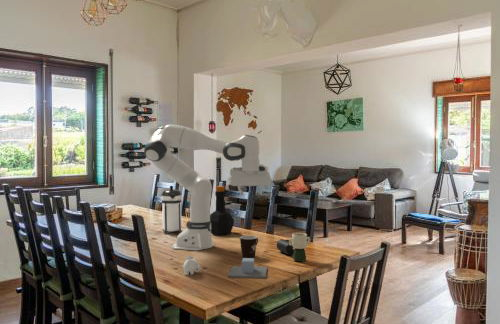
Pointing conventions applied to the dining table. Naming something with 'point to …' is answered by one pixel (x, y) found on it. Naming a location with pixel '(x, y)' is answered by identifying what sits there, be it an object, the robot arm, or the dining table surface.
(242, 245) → the coffee mug
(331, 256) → the dining table surface
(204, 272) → the dining table surface
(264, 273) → the charcoal mat
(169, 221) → the coffee press
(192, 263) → the elephant figurine
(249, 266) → the slate cube
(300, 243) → the character mug
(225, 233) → the bottle
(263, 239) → the dining table surface
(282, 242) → the end cap
